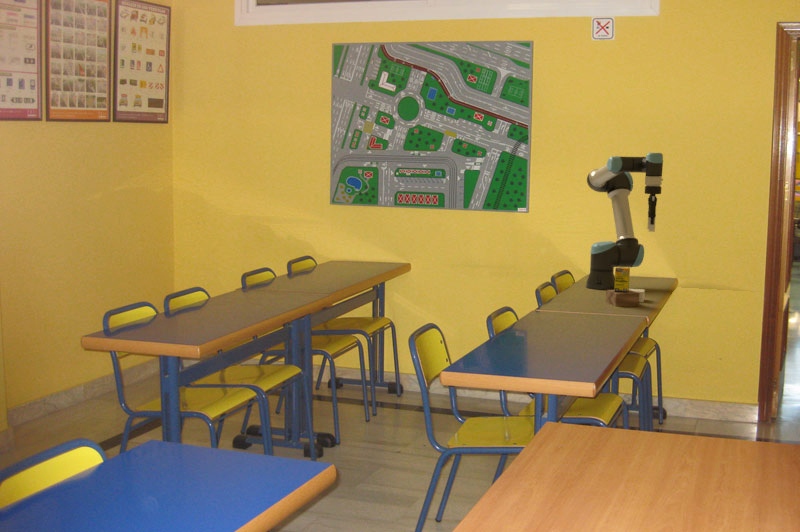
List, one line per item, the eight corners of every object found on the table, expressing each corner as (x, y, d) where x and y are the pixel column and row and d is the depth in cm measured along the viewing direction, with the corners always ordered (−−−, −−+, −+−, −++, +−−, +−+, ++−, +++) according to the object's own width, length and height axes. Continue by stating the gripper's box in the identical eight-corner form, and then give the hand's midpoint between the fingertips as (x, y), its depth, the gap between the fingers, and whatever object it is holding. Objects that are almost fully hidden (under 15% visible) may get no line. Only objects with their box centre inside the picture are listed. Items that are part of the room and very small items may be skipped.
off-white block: (624, 301, 401) (625, 290, 400) (626, 298, 408) (627, 288, 407) (642, 302, 398) (643, 292, 397) (644, 300, 405) (644, 289, 405)
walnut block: (605, 302, 397) (606, 289, 396) (628, 302, 399) (628, 289, 398) (615, 306, 386) (616, 293, 385) (638, 306, 388) (639, 293, 387)
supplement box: (614, 292, 390) (615, 268, 389) (615, 290, 396) (616, 266, 394) (627, 292, 388) (628, 268, 387) (628, 290, 394) (629, 266, 392)
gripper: (663, 186, 396) (660, 232, 399) (660, 185, 420) (657, 228, 423) (646, 186, 398) (643, 232, 400) (644, 184, 422) (641, 228, 425)
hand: (650, 230), depth 412 cm, fingers open, 13 cm apart
